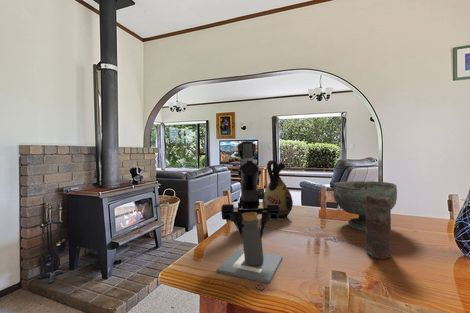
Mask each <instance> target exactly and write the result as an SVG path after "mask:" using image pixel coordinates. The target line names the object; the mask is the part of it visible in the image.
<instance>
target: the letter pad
mask: <svg viewBox="0 0 470 313" xmlns="http://www.w3.org/2000/svg"><path fill="white" fill-rule="evenodd" d="M283 258H284V257H283V255H280V254H273V253H267V252H263V263H261V264H259V265H248V264H246V263H245V257H244V248H236V249H235V250H234V251H233V252H232V254H230V255H229V256H228V257H227V258H226V259H225V260H224V261H223V262H222V263H221V264H219V266H218V267H217V268H216V272H217V273H221V274H225V275H229V276H234V277H238V278H242V279H247V280H252V281H256V282H261V283H264V284H270V283H271V281H272V279H273V277H274V276H275V274H276V272H277V270H278V268H279V266H280V264H281V263H282V261H283Z"/></svg>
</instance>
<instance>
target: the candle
mask: <svg viewBox="0 0 470 313" xmlns="http://www.w3.org/2000/svg"><path fill="white" fill-rule="evenodd" d="M391 211H392V209H391V205H390V198H389V197H387V198H385V197H379V196H370V195H366V231H365V251H366V253H367V254H369V255H370V256H371V257H372V258H374V259H378V260H379V259H380V260H381V259H382V260H386V259H389V258H390V257H392V227H391V226H392V224H391V223H392V222H391V221H392V218H391V214H392V213H391Z"/></svg>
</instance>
